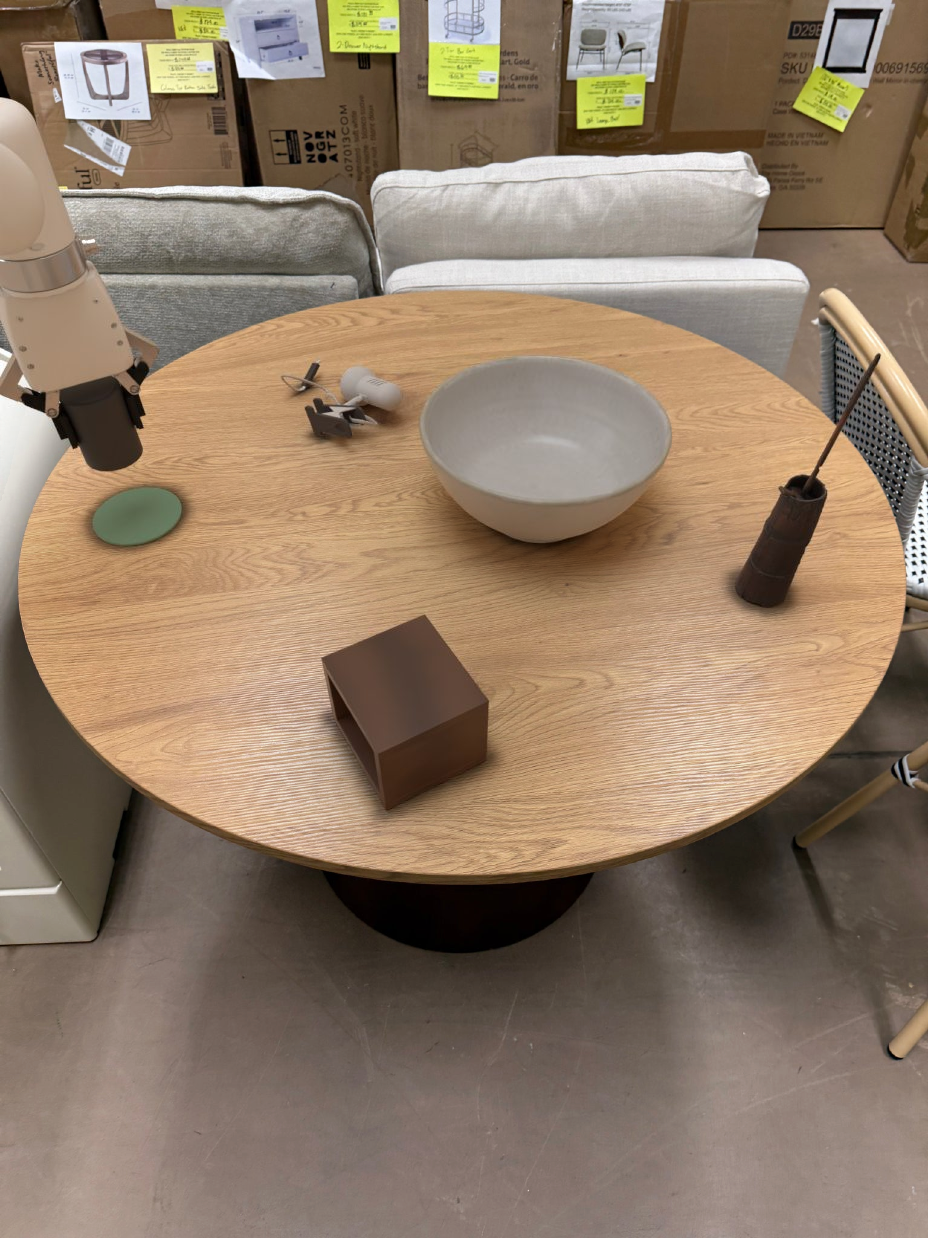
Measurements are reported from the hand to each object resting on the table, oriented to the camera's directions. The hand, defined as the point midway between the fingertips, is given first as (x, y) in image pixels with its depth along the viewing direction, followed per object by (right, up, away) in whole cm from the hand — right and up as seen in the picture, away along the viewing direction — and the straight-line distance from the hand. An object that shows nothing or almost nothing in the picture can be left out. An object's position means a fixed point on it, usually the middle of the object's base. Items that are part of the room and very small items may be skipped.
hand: (105, 430), depth 86 cm
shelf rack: (+33, -31, -12) cm, 47 cm away
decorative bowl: (+46, -7, +10) cm, 48 cm away
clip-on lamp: (+21, +8, +23) cm, 32 cm away
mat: (0, -8, +9) cm, 12 cm away
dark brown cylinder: (0, -2, +2) cm, 3 cm away
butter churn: (+68, -17, +1) cm, 71 cm away
